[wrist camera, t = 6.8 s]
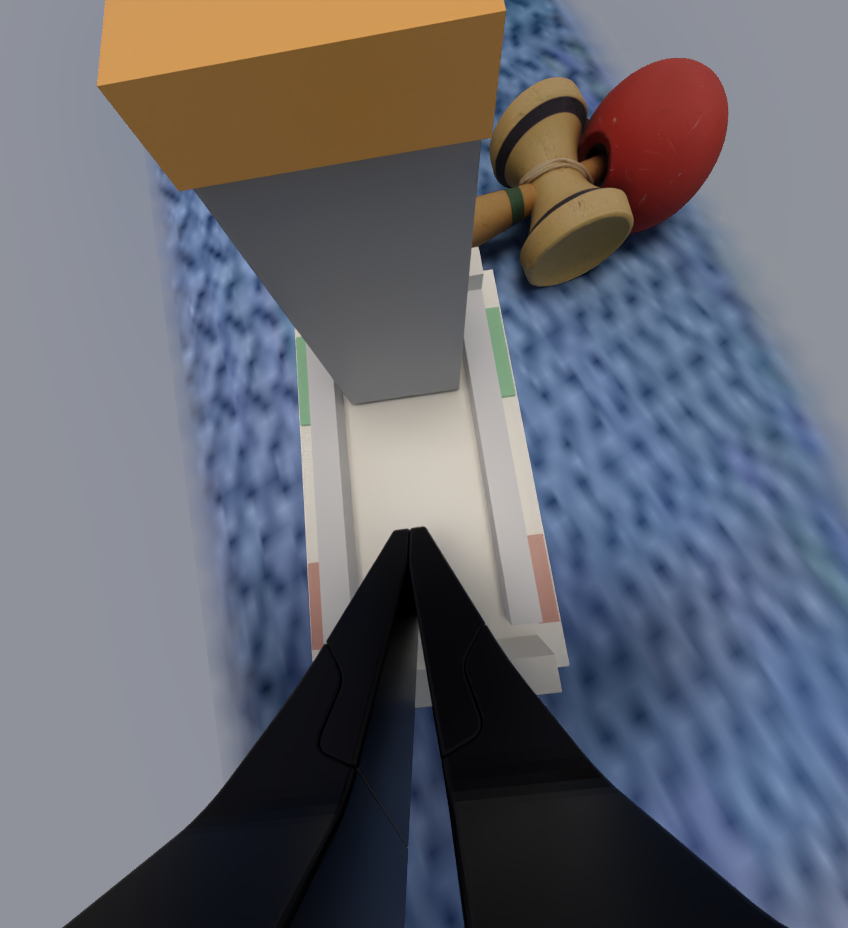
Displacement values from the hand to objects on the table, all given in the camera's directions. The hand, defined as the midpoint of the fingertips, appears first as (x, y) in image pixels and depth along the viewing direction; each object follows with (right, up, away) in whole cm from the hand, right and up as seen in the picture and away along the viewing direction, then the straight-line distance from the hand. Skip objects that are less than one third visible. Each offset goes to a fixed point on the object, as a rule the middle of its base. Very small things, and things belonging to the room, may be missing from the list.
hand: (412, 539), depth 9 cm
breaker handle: (-1, +6, +5) cm, 8 cm away
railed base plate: (0, +2, +8) cm, 8 cm away
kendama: (+5, +14, +10) cm, 18 cm away
